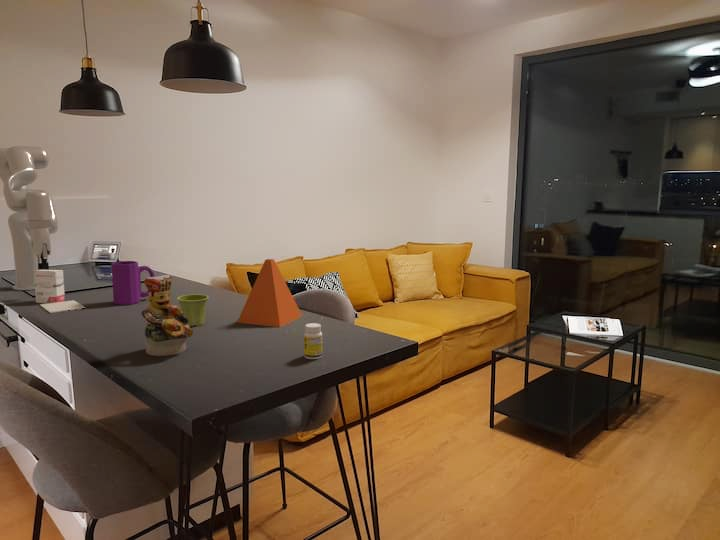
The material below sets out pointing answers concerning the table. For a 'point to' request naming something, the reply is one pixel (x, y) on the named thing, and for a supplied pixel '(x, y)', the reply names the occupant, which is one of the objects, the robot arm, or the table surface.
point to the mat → (61, 306)
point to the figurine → (164, 320)
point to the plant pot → (193, 308)
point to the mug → (128, 282)
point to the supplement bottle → (313, 341)
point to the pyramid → (270, 300)
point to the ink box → (49, 286)
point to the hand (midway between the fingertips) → (43, 273)
